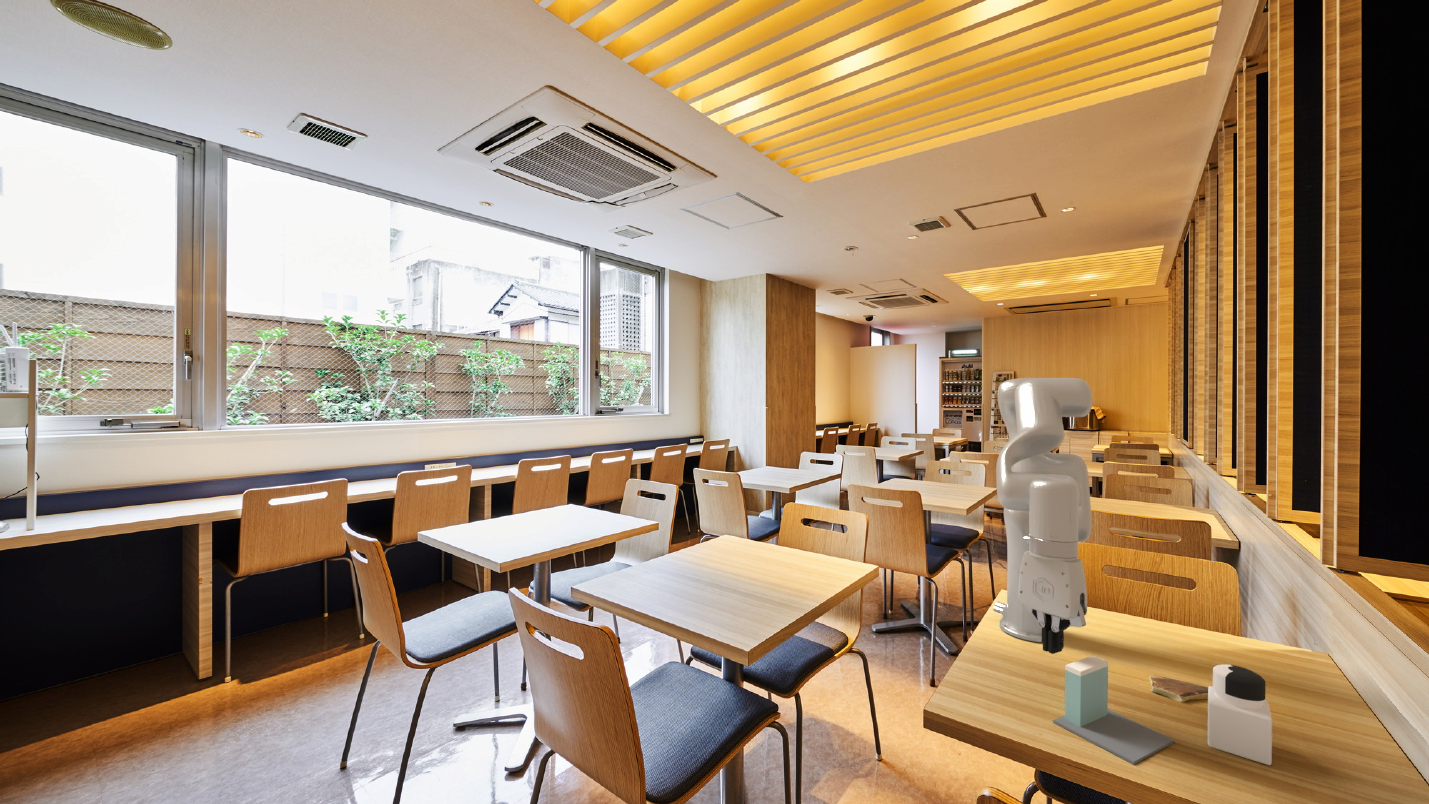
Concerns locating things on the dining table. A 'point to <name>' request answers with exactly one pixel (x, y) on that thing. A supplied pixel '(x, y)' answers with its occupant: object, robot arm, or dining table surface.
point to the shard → (1178, 689)
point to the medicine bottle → (1239, 714)
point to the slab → (1086, 690)
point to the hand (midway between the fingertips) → (1052, 650)
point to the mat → (1119, 736)
